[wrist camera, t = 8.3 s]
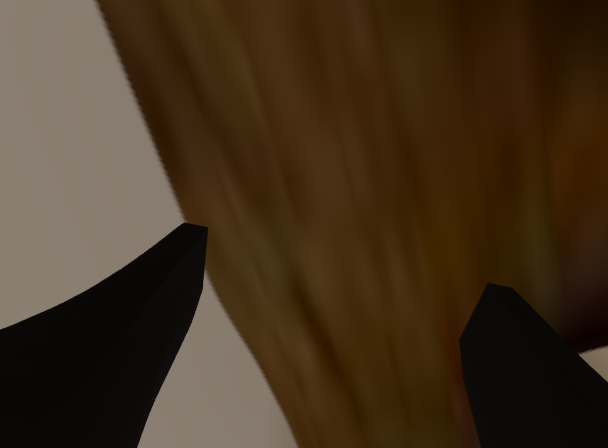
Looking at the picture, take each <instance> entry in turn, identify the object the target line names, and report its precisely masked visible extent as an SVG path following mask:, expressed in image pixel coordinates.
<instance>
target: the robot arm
mask: <svg viewBox="0 0 608 448" xmlns="http://www.w3.org/2000/svg"><path fill="white" fill-rule="evenodd" d="M207 235H208V227H204V226H199V225H194V224H189V223H183V224H181V225H180V226H178V227H177V228H176V229H175V230H173V231H172V232H171V233H169V234H168V235H167V236H165V237H164V238H163V239H162V240H160V241H159V242H158V243H156V244H155V245H154V246H152V247H151V248H150V249H149V250H147V251H146V252H144V253H143V254H142V255H140V256H139V257H137V258H136V259H135V260H133V261H132V262H130V263H129V264H128V265H126V266H125V267H123V268H122V269H120V270H118V271H117V272H115V273H114V274H112V275H111V276H109V277H108V278H106V279H104V280H103V281H101V282H100V283H98V284H96V285H95V286H93V287H91V288H90V289H88V290H86V291H84V292H83V293H81V294H79V295H77V296H75V297H73V298H71V299H69V300H67V301H65V302H63V303H61V304H59V305H57V306H55V307H53V308H51V309H48V310H46V311H44V312H42V313H39V314H37V315H35V316H32V317H30V318H27V319H26V320H23V321H21V322H18V323H16V324H14V325H11V326H9V327H6V328H3V329H1V330H0V448H137V446H138V444H139V441H140V438H141V435H142V432H143V430H144V427H145V424H146V421H147V418H148V416H149V413H150V411H151V409H152V406H153V404H154V402H155V399H156V397H157V395H158V393H159V391H160V389H161V387H162V384H163V382H164V380H165V378H166V376H167V374H168V372H169V370H170V368H171V366H172V363H173V361H174V359H175V357H176V355H177V353H178V351H179V349H180V347H181V345H182V343H183V340H184V338H185V336H186V334H187V332H188V330H189V327H190V325H191V323H192V320H193V317H194V314H195V311H196V308H197V305H198V302H199V299H200V296H201V293H202V290H203V280H204V268H205V257H206V246H207ZM459 342H460V353H461V363H462V371H463V378H464V382H465V386H466V390H467V394H468V398H469V402H470V406H471V410H472V414H473V418H474V421H475V425H476V429H477V433H478V437H479V441H480V445H481V448H608V382H607V381H606V380H605V379H604V378H603V377H602V376H600V375H599V374H598V373H597V372H596V371H595V370H594V369H593V368H592V367H591V366H589V365H588V364H587V363H586V362H585V361H584V360H583V359H582V358H581V357H580V356H579V355H578V354H577V353H576V352H575V351H574V350H573V349H572V348H571V347H570V346H569V345H568V344H567V343H566V342H565V341H564V340H563V339H562V338H561V337H560V336H559V335H558V334H557V333H556V332H555V331H554V330H553V329H552V327H551V326H550V325H549V324H548V323H547V322H546V321H545V320H544V319H543V318H542V317H541V316H540V315H539V314H538V313H537V312H536V311H535V310H534V309H533V308H532V307H531V306H530V305H529V304H528V303H527V302H526V301H525V300H524V299H523V298H522V297H521V296H520V295H519V294H518V293H517V292H516V291H515V290H513V289H512V288H511V287H506V286H501V285H496V284H491V283H488V284H487V286H486V288H485V290H484V292H483V294H482V296H481V298H480V300H479V302H478V303H477V305H476V307H475V309H474V311H473V313H472V315H471V317H470V319H469V321H468V323H467V325H466V327H465V329H464V331H463V333H462V335H461V337H460V339H459Z"/></svg>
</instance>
